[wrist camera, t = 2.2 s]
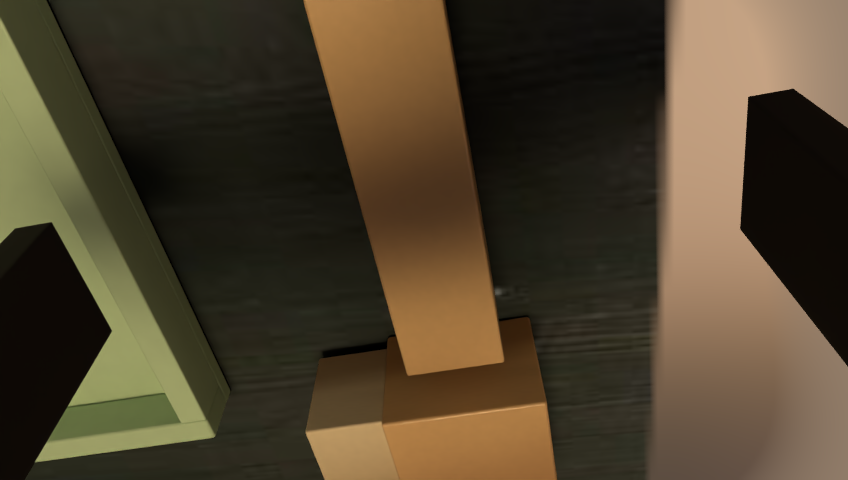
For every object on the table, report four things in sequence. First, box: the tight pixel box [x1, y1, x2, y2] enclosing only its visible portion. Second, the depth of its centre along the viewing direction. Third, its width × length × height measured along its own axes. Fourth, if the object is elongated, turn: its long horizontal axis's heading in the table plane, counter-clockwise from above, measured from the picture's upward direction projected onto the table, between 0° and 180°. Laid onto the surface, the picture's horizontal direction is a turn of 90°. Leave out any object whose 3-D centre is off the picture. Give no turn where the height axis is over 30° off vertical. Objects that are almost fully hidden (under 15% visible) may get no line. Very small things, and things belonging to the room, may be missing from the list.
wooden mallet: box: [303, 0, 557, 480], centre depth 18 cm, size 19×7×4 cm, turn 11°
